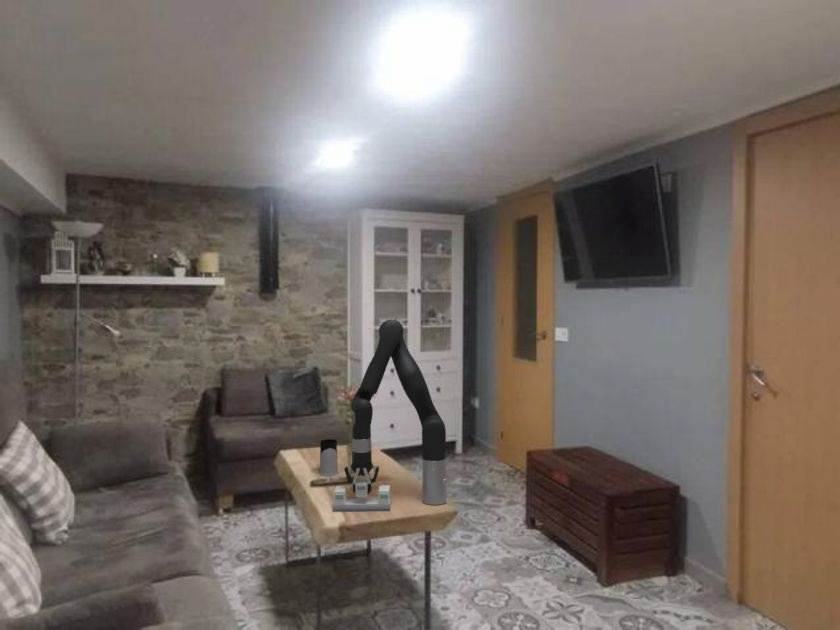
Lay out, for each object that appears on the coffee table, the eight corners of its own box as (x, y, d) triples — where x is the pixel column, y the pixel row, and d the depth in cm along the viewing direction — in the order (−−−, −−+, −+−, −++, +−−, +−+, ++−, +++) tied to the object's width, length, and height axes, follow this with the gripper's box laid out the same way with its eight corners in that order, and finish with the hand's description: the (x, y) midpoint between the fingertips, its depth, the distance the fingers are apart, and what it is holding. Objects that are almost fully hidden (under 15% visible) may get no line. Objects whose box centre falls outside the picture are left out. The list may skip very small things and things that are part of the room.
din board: (391, 500, 238) (390, 483, 237) (389, 511, 226) (389, 493, 225) (336, 500, 237) (336, 484, 237) (332, 511, 225) (332, 494, 225)
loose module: (368, 491, 235) (368, 478, 235) (367, 497, 228) (366, 484, 228) (357, 491, 235) (357, 478, 235) (355, 497, 228) (355, 484, 228)
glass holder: (320, 477, 269) (320, 444, 269) (316, 468, 283) (316, 437, 282) (339, 475, 272) (339, 442, 271) (335, 466, 285) (334, 435, 285)
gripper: (380, 446, 235) (381, 489, 235) (344, 446, 235) (344, 490, 235) (379, 451, 227) (379, 496, 228) (342, 451, 227) (342, 496, 228)
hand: (362, 492), depth 231 cm, fingers closed on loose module, 4 cm apart
